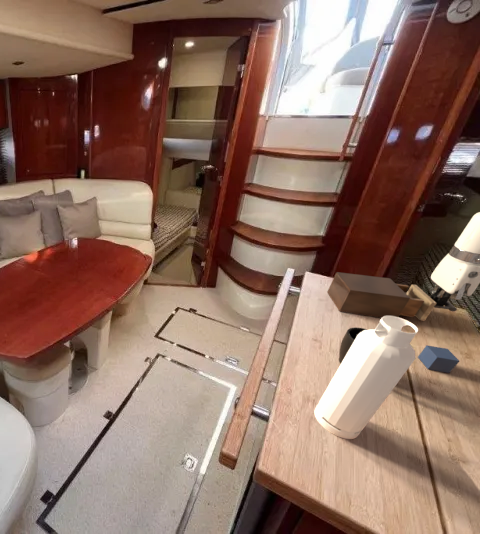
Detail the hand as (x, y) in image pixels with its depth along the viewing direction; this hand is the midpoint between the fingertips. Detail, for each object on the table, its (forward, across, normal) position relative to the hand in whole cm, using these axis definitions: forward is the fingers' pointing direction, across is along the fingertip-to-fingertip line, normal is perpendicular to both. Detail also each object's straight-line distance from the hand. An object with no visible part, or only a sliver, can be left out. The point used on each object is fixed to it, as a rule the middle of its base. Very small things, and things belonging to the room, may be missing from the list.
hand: (433, 306), depth 96 cm
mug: (+4, -33, +31) cm, 46 cm away
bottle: (+4, -51, +41) cm, 66 cm away
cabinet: (+4, 0, +18) cm, 19 cm away
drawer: (+3, 0, +7) cm, 8 cm away
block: (+4, -25, +11) cm, 28 cm away
